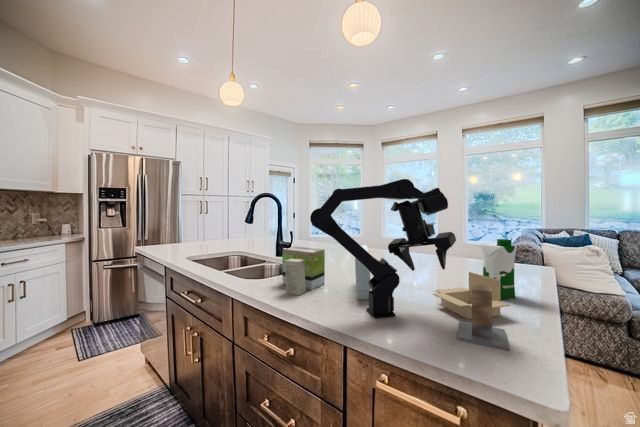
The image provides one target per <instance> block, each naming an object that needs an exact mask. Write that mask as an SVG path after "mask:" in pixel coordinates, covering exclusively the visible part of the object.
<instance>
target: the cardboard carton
mask: <svg viewBox="0 0 640 427" xmlns="http://www.w3.org/2000/svg"><path fill="white" fill-rule="evenodd" d="M472 284H476V285H484V286H491V289H492V317H495V316H501V308H503V307H505V308H506V307H511V304H509V303H506V302H503V301H502V300H500V280H497V279H493V278H490V277H486V276H483V274H478V273H475V272H471V271H468V288H465V287H463V286H462V287H454V288H444V289H434V292H436V293H432V295H433V296H435V297H437V298H440V301H441V302H440V305H441V306H442V307H443V306H444V307H443V308H446V309H447V310H450V311H451V312H454V313H455V314H457V315H459V316H462V317H464V318H465V319H467V320H472Z"/></svg>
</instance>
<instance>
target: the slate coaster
mask: <svg viewBox="0 0 640 427" xmlns="http://www.w3.org/2000/svg"><path fill="white" fill-rule="evenodd" d="M457 327H458V329H457V335H456V340H459V341H464V342H469V343H472V344H478V345H482V346H485V347H486V346H487V347H490V348H491V347H492V348H495V349H496V348H497V349H500V350H506V351H509V350H510V345H509V342H508V338H507V334H506V330H505V328H499V327H494V326H492V339H488V338H483V337H478V336H473V335H472V322H471V323H470V322H466V321H462V320H461V321H460V320H459V321H458V326H457Z"/></svg>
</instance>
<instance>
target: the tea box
mask: <svg viewBox="0 0 640 427" xmlns="http://www.w3.org/2000/svg"><path fill="white" fill-rule="evenodd" d="M325 251H326V250H325V249H324V248H323V249H322V248H314V247H313V248H312V247H305V246H293V247H288V248H285V249H282V252H281V253H282V255H281V258H282V259H281V260H282V261H281V262H282V266H281V267H282V268H281V270H282V271H281V272H282V273H281V274H282V276H281V277H282V284H283V285H286V269H285V260H289V259H300V260H305V286H306V290H310V291H312V290H314V289H317V288H319V287H321V286H323V285H324V284H325V280H326V279H325V277H326V274H325V272H326V271H325V270H326V269H325V268H326V267H325V261H326V258H325V255H326V254H325Z"/></svg>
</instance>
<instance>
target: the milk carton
mask: <svg viewBox="0 0 640 427" xmlns="http://www.w3.org/2000/svg"><path fill="white" fill-rule="evenodd" d="M480 248H481V252H482V275H483V276H486V277H490V278H493V279H497V280H500V301H503V300H510V299H515V298H516V290H515V289H516V288H515V259H516V258H515V257H516V253H517V249H518V246H517V245H513V244H512V239H508V238H507V239H506V238H498V239H497V240H496V243H495V242H494V243H482V244H480Z"/></svg>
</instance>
